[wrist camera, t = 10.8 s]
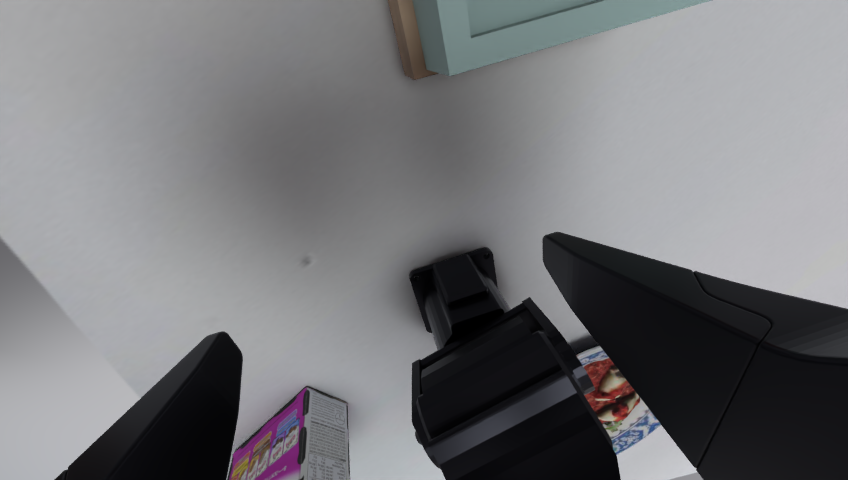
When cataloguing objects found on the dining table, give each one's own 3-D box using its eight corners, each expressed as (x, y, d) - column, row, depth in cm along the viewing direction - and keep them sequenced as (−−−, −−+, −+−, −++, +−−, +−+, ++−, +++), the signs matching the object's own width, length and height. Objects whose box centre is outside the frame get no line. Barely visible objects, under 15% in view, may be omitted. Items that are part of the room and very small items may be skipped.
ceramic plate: (451, 392, 34) (459, 420, 32) (683, 284, 33) (711, 304, 31) (511, 482, 48) (520, 506, 46) (676, 407, 47) (695, 428, 45)
